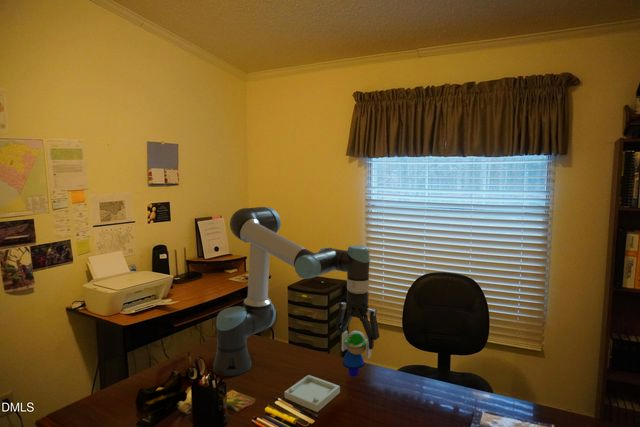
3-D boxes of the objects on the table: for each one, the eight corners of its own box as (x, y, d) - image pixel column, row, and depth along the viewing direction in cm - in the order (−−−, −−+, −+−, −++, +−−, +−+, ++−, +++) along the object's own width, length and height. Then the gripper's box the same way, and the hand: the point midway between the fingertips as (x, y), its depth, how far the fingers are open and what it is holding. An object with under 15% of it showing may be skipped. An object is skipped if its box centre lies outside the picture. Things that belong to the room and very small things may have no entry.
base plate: (284, 398, 127) (284, 390, 126) (308, 380, 138) (308, 373, 138) (317, 412, 119) (317, 403, 118) (339, 392, 130) (339, 384, 130)
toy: (367, 380, 123) (368, 337, 122) (340, 377, 125) (341, 335, 124) (369, 367, 132) (370, 327, 131) (344, 365, 134) (345, 325, 132)
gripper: (325, 287, 129) (324, 349, 131) (381, 299, 117) (379, 366, 118) (336, 283, 135) (335, 341, 137) (391, 293, 123) (389, 358, 125)
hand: (356, 353), depth 128 cm, fingers closed on toy, 9 cm apart
